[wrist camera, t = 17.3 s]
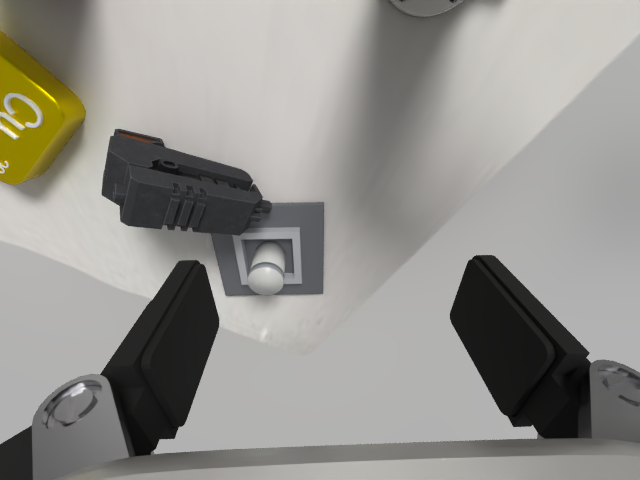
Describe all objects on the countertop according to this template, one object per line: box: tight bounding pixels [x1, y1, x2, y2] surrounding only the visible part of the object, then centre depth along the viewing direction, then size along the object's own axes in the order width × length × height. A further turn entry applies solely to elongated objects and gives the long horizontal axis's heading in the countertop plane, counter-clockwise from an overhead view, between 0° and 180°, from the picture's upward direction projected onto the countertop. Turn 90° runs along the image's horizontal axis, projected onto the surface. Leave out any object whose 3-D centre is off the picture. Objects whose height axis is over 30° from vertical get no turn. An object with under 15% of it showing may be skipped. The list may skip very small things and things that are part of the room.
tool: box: [102, 129, 272, 236], centre depth 36 cm, size 6×19×15 cm, turn 61°
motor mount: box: [211, 202, 324, 296], centre depth 47 cm, size 18×18×2 cm
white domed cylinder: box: [248, 242, 286, 295], centre depth 44 cm, size 5×5×7 cm
